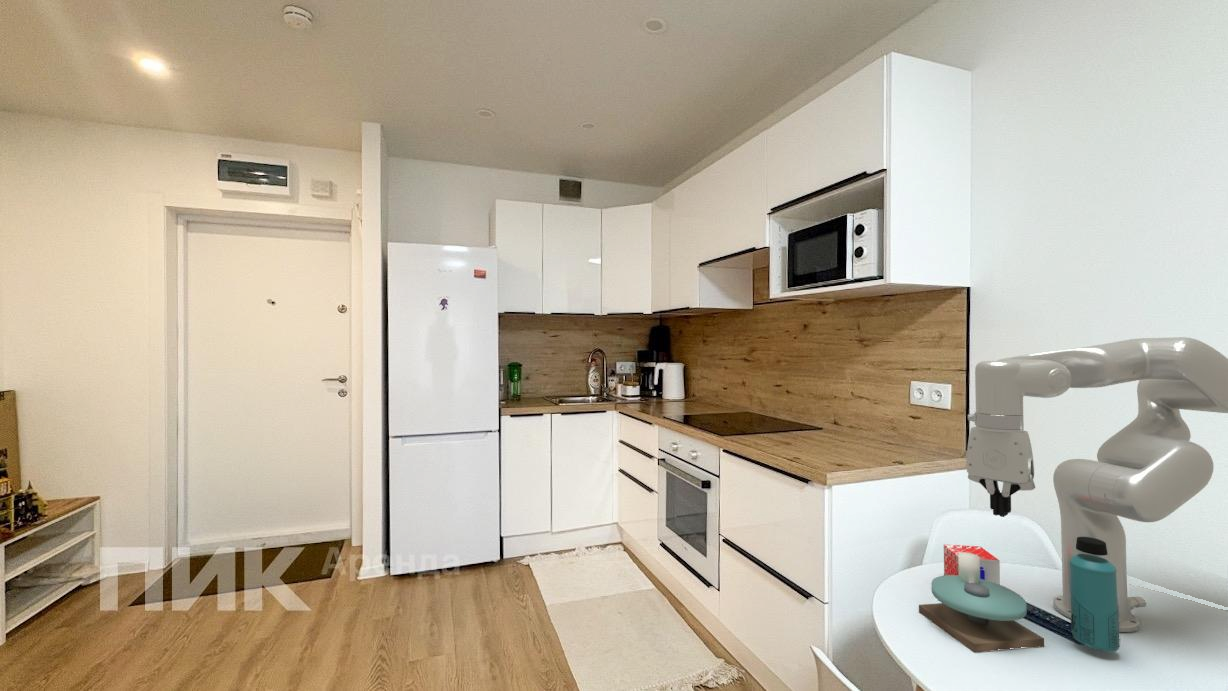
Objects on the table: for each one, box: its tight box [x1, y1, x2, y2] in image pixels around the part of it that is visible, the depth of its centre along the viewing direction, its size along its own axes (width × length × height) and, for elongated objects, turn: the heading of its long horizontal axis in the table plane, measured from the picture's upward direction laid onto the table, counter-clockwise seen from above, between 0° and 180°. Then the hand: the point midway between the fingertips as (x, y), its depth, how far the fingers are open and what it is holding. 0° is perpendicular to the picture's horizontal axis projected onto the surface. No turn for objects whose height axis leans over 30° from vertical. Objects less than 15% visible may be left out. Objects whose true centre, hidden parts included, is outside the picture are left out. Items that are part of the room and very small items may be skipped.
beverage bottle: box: [1069, 537, 1121, 653], centre depth 90 cm, size 6×7×20 cm
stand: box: [918, 602, 1045, 653], centre depth 97 cm, size 14×14×5 cm
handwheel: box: [931, 552, 1028, 621], centre depth 97 cm, size 15×15×6 cm
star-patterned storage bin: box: [943, 543, 1001, 585], centre depth 114 cm, size 8×8×8 cm
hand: (1000, 514), depth 98 cm, fingers closed
